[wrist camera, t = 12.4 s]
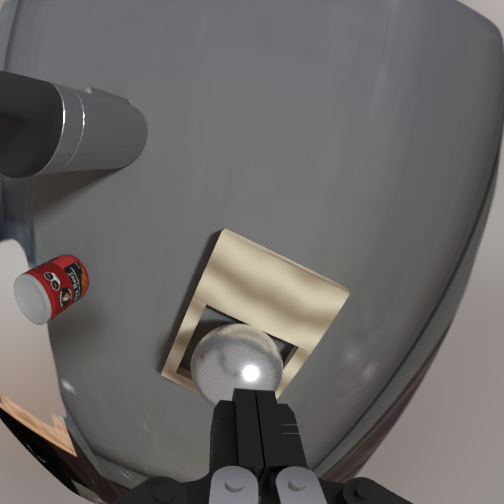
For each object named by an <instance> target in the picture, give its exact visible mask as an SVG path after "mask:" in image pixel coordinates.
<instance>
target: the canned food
mask: <svg viewBox="0 0 504 504" xmlns="http://www.w3.org/2000/svg"><path fill="white" fill-rule="evenodd" d="M88 284H89V280H88V275H87V272H86V270H85V268H84V266H83V265H82V263H81V262H80V261H79V260H78V259H77V258H75V257H73V256H71V255H60V256H58V257H56V258H54V259H52V260H50V261H47V262H45V263H43V264H41V265H39V266H37V267H35V268H33V269H31V270H29V271H27V272H25V273H23V274H21V275H20V276H18V277H17V278H16V280H15V283H14V293H15V298H16V301H17V303H18V306H19V307H20V309H21V311H22V312H23V314H24V315H25V316H26V317H27V318H28V319H29V320H30V321H32V322H33V323H35V324H38V325H42V324H45V323H47V322H48V321H50V320H51V319H53V318H54V317H55V316H57V315H58V314H59V313H61V312H62V311H63V310H65V309H66V308H67V307H69V306H70V305H72V304H73V303H74V302H76V301H77V300H78V299H80V298H81V297H82V296H84V294H85V293H86V291H87V289H88Z"/></svg>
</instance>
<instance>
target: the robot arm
mask: <svg viewBox="0 0 504 504" xmlns="http://www.w3.org/2000/svg"><path fill="white" fill-rule="evenodd" d="M146 136H147V128H146V123H145V120H144V117H143V116H142V114H141V113H140V112H139V111H138V110H137V109H136V108H134V107H132V106H131V105H130V104H129V102H128V99H125V98H122V97H120V96H117V95H114V94H111V93H108V92H105V91H102V90H99V89H96V88H93V87H86V88H85V89H83V90H82V91H81V90H78V89H74V88H70V87H67V86H62V85H59V84H55V83H51V82H47V81H43V80H38V79H34V78H30V77H26V76H22V75H18V74H14V73H9V72H4V71H0V173H1V174H3V175H4V176H7V177H10V178H20V177H27V176H35V175H43V174H52V173H62V172H72V171H84V170H98V169H115V168H122V167H125V166H127V165H129V164H130V163H132V162H133V161H134V160H135V159H136V158H137V157H138V156H139V154H140V153H141V152H142V149H143V147H144V145H145V141H146ZM258 496H261V504H413V503H411V502H409V501H407V500H405V499H403V498H402V497H400V496H398V495H396V494H395V493H393V492H391V491H390V490H388V489H386V488H384V487H383V486H381V485H379V484H378V483H376V482H375V481H373V480H371V479H368V478H365V477H357V478H353V479H351V480H349V481H348V482H347V483H346V484H343V483H336V482H330V481H325V480H322V479H320V478H318V477H317V476H316V475H315V474H314V473H313V472H312V471H310V470H309V468H308V466H307V462H306V458H305V454H304V450H303V446H302V442H301V438H300V435H299V430H298V426H297V422H296V418H295V414H294V412H293V411H292V410H291V409H290V407H289V406H288V405H287V404H277V400H276V395H275V391H274V390H257V389H255V390H254V389H243V388H234V391H233V396H232V401H228V400H219V402H218V403H217V405H216V407H215V408H214V412H213V419H212V425H211V432H210V464H209V473H208V474H207V475H206V476H205V477H203V478H201V479H199V480H196V481H191V482H184V483H179V482H178V481H176V480H174V479H172V478H169V477H163V476H157V477H152V478H149V479H147V480H146V481H144V482H143V483H141V484H139V485H138V486H136V487H135V488H133V489H132V490H130V491H129V492H127V493H125V494H124V495H122V496H120V497H119V498H117V499H116V500H114V501H112V502H110V503H109V504H258Z"/></svg>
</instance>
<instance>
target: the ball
mask: <svg viewBox="0 0 504 504" xmlns="http://www.w3.org/2000/svg"><path fill="white" fill-rule="evenodd" d="M191 375H192V380H193V383H194V385H195V387H196V389H197V391H198V392H199V394H200V395H201V396H202V397H203V398H204V399H205V400H206V401H207V402H208V403H210V404H211V405H213V406H214V407H216V405H217V403H218V402H219V400H228V401H232V396H233V391H234V388H243V389H254V390H255V389H257V390H274V391H275V393H276V391H277V389H278V388H279V385H280V383H281V380H282V375H283V362H282V357H281V354H280V351H279V349H278V347H277V346H276V344H275V343H274V341H273V340H272V339H271V338H270V337H269V336H268V335H267V334H266V333H264V332H263V331H261V330H260V329H258V328H256V327H253V326H250V325H246V324H239V323H234V324H227V325H223V326H220V327H217V328H215V329H213V330H212V331H210V332H209V333H207V334H206V335H205V336H204V337H203V338H202V339H201V340H200V342H199V343H198V344H197V346H196V348H195V350H194V353H193V356H192V360H191Z"/></svg>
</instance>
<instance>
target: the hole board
mask: <svg viewBox="0 0 504 504" xmlns="http://www.w3.org/2000/svg"><path fill="white" fill-rule="evenodd" d="M349 294H350V293H349V291H348V289H347V288H346V287H344V286H342V285H340V284H338V283H336V282H334V281H332V280H330V279H328V278H326V277H324V276H322V275H320V274H318V273H316V272H314V271H312V270H310V269H308V268H305V267H303V266H301V265H299V264H297V263H295V262H293V261H291V260H289V259H287V258H285V257H283V256H281V255H279V254H277V253H275V252H273V251H271V250H269V249H267V248H265V247H263V246H261V245H259V244H256V243H254V242H252V241H250V240H248V239H246V238H244V237H242V236H240V235H238V234H236V233H234V232H232V231H230V230H228V229H226V228H225V229H224V230H223V231H222V232H221V234H220V237H219V239H218V241H217V243H216V246H215V248H214V250H213V252H212V255H211V257H210V259H209V261H208V264H207V266H206V268H205V270H204V273H203V275H202V277H201V280H200V282H199V284H198V287H197V289H196V291H195V294H194V296H193V298H192V301H191V303H190V305H189V308H188V310H187V312H186V315H185V317H184V320H183V322H182V324H181V327H180V329H179V332H178V334H177V336H176V339H175V341H174V344H173V346H172V349H171V351H170V354H169V356H168V358H167V361H166V363H165V366H164V368H163V371H162V373H161V375H162V376H164V377H166V378H168V379H170V380H172V381H174V382H176V383H178V384H180V385H182V386H184V387H186V388H188V389H190V390H193V391H195V392H197V393H199V392H198V391H197V389H196V387H195V385H194V383H193V380H192V375H191V371H189V370H187V369H185V368H183V367H181V366H179V365H180V363H181V360H182V358H183V356H184V354H185V351H186V349H187V347H188V345H189V343H190V340H191V338H192V336H193V334H194V331H195V329H196V327H197V325H198V323H199V320H200V318H201V316H202V314H203V312H204V309H205V307H206V305H209V306H211V307H213V308H215V309H217V310H219V311H221V312H223V313H225V314H227V315H229V316H231V317H234V318H236V319H238V320H240V321H242V322H244V323H246V324H249V325H251V326H253V327H256V328H258V329H260V330H262V331H264V332H266V333H268V334H271V335H273V336H275V337H277V338H280V339H282V340H284V341H286V342H289V343H291V344H293V345H295V346H294V347H293V349H292V350H291V352H290V353H289V355H288V356H287V358H286V359H285V361H284V362H283V375H282V380H281V383H280V385H279V388H278V389H277V391H276V393H275V395H276V400H277V398H278V397H279V396H280V394H281V393H282V392H283V390H284V389H285V388H286V387H287V385H288V384H289V383H290V381H291V380H292V378H293V377H294V376H295V374H296V373H297V372H298V370H299V369H300V368H301V366H302V365H303V363H304V362H305V361H306V359H307V358H308V356H309V355H310V354H311V352H312V351H313V349H314V348H315V346H316V345H317V344H318V342H319V341H320V339H321V338H322V336H323V335H324V333H325V332H326V330H327V329H328V327H329V326H330V324H331V323H332V321H333V320H334V318H335V317H336V315H337V313H338V312H339V310H340V309H341V307H342V306H343V304H344V302H345V301H346V299H347V298H348V296H349Z"/></svg>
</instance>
